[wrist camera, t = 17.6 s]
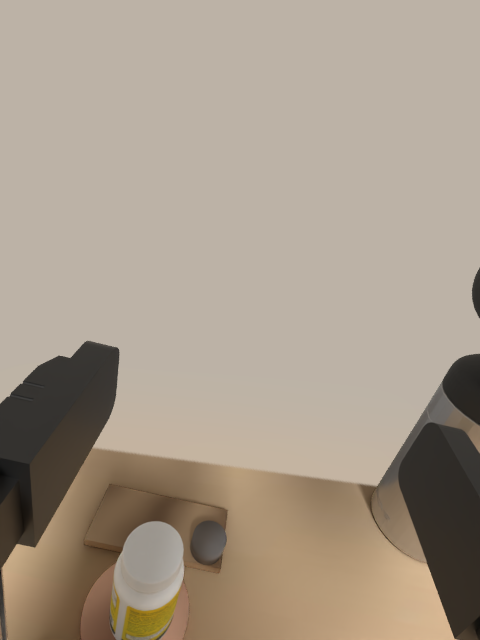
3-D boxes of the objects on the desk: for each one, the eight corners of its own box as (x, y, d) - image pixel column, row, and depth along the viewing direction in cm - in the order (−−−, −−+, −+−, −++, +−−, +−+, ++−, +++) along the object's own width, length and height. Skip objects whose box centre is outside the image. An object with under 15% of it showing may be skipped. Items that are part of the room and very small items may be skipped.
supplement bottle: (185, 608, 29) (204, 547, 25) (139, 670, 25) (152, 610, 21) (143, 565, 31) (155, 502, 27) (95, 616, 27) (100, 552, 23)
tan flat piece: (225, 514, 37) (230, 500, 36) (187, 839, 20) (194, 829, 19) (109, 489, 36) (110, 473, 35) (-32, 798, 19) (-38, 786, 18)
